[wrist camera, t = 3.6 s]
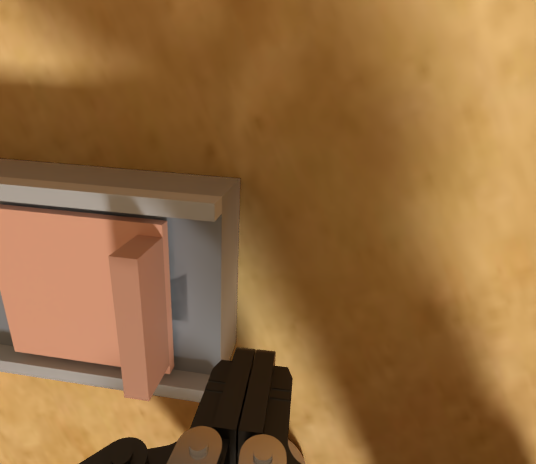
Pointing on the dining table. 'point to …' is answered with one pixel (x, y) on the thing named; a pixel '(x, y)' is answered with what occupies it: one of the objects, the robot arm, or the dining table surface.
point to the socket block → (180, 261)
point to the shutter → (89, 290)
